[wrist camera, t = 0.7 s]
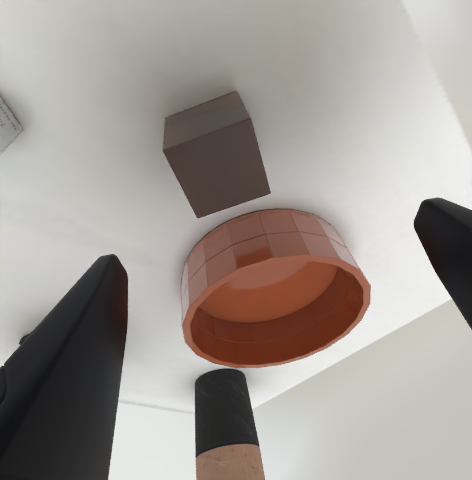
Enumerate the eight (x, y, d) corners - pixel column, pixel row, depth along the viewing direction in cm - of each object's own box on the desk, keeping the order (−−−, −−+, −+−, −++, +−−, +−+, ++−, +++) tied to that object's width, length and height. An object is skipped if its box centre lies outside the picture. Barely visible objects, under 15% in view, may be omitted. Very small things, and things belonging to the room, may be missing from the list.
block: (194, 179, 20) (197, 218, 17) (165, 117, 17) (162, 150, 14) (255, 158, 20) (271, 193, 16) (236, 90, 17) (250, 117, 14)
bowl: (215, 335, 34) (220, 382, 30) (151, 245, 23) (146, 298, 20) (346, 296, 32) (369, 339, 28) (338, 182, 22) (372, 225, 18)
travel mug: (248, 364, 39) (291, 597, 25) (245, 388, 44) (280, 593, 30) (190, 372, 38) (199, 619, 24) (194, 395, 44) (203, 611, 29)
